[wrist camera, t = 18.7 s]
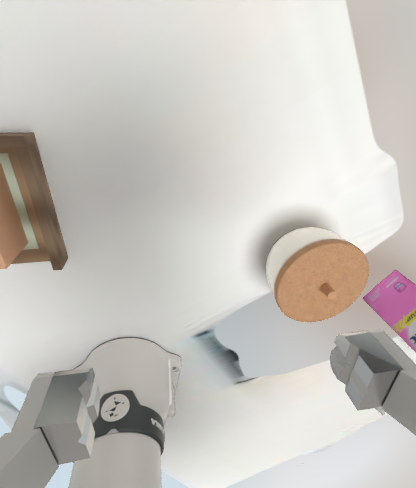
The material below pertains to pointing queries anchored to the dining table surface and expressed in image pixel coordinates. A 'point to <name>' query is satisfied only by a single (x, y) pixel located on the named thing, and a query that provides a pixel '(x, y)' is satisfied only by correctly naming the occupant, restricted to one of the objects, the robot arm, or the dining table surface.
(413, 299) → the gum box
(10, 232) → the terracotta block
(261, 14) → the dining table surface
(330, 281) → the lidded bowl
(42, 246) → the brown wooden flat frame
